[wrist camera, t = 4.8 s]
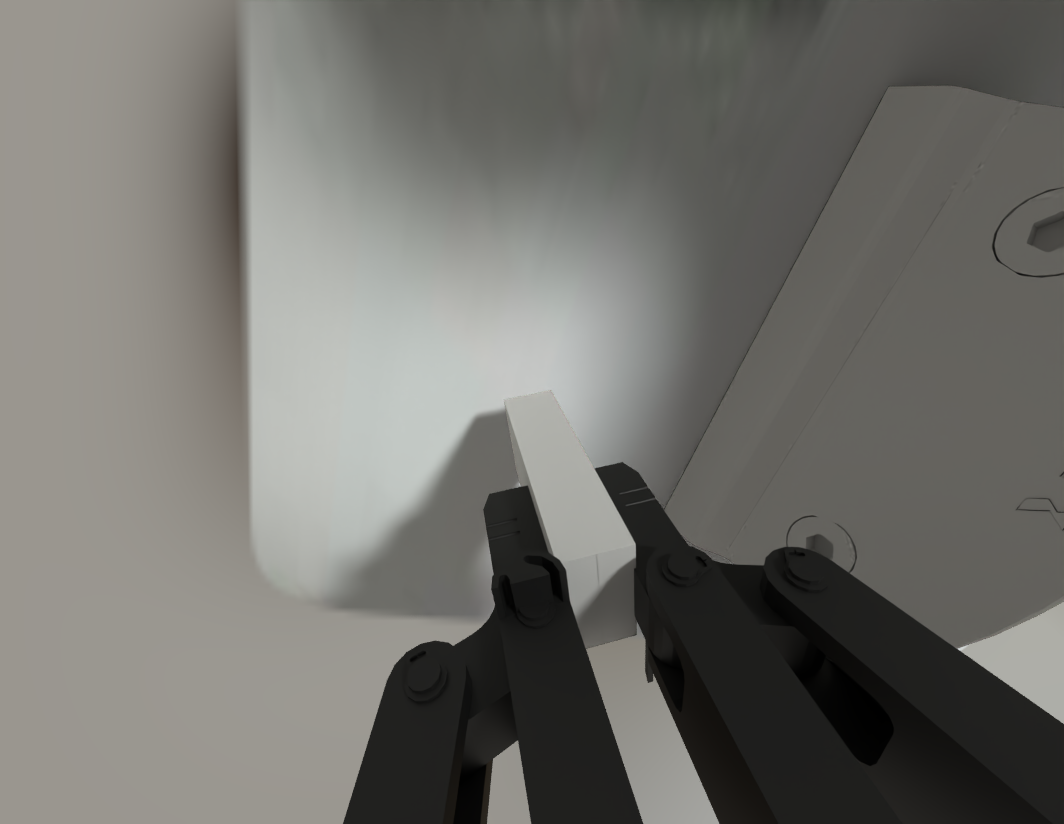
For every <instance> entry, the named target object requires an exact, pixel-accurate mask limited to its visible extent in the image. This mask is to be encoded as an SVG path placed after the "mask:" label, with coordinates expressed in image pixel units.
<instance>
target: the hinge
mask: <svg viewBox="0 0 1064 824" xmlns="http://www.w3.org/2000/svg"><path fill="white" fill-rule="evenodd" d="M664 511H665V512H666V514H667V515H668V517H669V518H670V520H671V521H672V523H673V524H674V526H675V527H676V529H677V530H678V531H679V533H680V534H681V535H682V536H683V537H684V538H685V539H686V540H688V541H689V542H690V543H692V544H693V545H695V546H697V547H700V548H702V549H705V550H708V551H710V552H713V553H715V554H718V555H721V556H723V557H725V558H726V559H728V560H730V561H731V562H732V563H734V564H738V565H764V563H765V558H766V557H767V556H768V555H769V554H770V553H771V552H772V551H773V550H776V549H779V548H782V547H801V548H805V549H808V550H812V551H815V552H817V553H819V554H821V555H823V556H825V557H827V558H828V559H830V560H832V561H833V562H834V563H836V564H837V565H839V566H840V567H842V568H843V569H844V570H846V571H847V572H849V573H850V574H851V575H853V576H854V577H856V578H857V579H859V580H860V581H861V582H863V583H864V584H866V585H867V586H869V587H870V588H871V589H873V590H874V591H876V592H877V593H878V594H880V595H881V596H883V597H884V598H886V599H887V600H888V601H890V602H891V603H893V604H894V605H895V606H897V607H898V608H900V609H901V610H903V611H904V612H905V613H907V614H908V615H910V616H911V617H912V618H914V619H915V620H917V621H918V622H920V623H921V624H922V625H924V626H925V627H927V628H928V629H930V630H931V631H932V632H934V633H935V634H937V635H938V636H939V637H941V638H942V639H944V640H945V641H947V642H948V643H949V644H951V645H952V646H954V647H955V648H956V649H957V648H960V647H963V646H966V645H969V644H972V643H975V642H978V641H980V640H983V639H986V638H989V637H992V636H995V635H997V634H999V633H1001V632H1003V631H1005V630H1008V629H1010V628H1012V627H1014V626H1017V625H1018V624H1021V623H1023V622H1025V621H1027V620H1030V619H1032V618H1034V617H1036V616H1038V615H1040V614H1042V613H1044V612H1046V611H1047V610H1049V609H1051V608H1053V607H1055V606H1057V605H1059V604H1060V603H1062V602H1064V107H1057V106H1050V105H1042V104H1035V103H1028V102H1021V101H1016V100H1011V99H1006V98H1003V97H999V96H995V95H991V94H987V93H983V92H979V91H975V90H971V89H967V88H963V87H956V86H889V87H888V89H887V91H886V93H885V94H884V96H883V98H882V100H881V102H880V104H879V106H878V108H877V110H876V111H875V113H874V115H873V117H872V119H871V121H870V123H869V125H868V127H867V128H866V130H865V132H864V134H863V136H862V138H861V140H860V142H859V143H858V145H857V147H856V149H855V151H854V153H853V155H852V157H851V159H850V160H849V162H848V164H847V166H846V168H845V170H844V172H843V174H842V176H841V177H840V179H839V181H838V183H837V185H836V187H835V189H834V191H833V192H832V194H831V196H830V198H829V200H828V202H827V204H826V206H825V208H824V209H823V211H822V213H821V215H820V217H819V219H818V221H817V223H816V225H815V226H814V228H813V230H812V232H811V234H810V236H809V238H808V240H807V242H806V243H805V245H804V247H803V249H802V251H801V253H800V255H799V257H798V258H797V260H796V262H795V264H794V266H793V268H792V270H791V272H790V274H789V275H788V277H787V279H786V281H785V283H784V285H783V287H782V289H781V291H780V292H779V294H778V296H777V298H776V300H775V302H774V304H773V306H772V308H771V309H770V311H769V313H768V315H767V317H766V319H765V321H764V323H763V324H762V326H761V328H760V330H759V332H758V334H757V336H756V338H755V340H754V341H753V343H752V345H751V347H750V349H749V351H748V353H747V355H746V357H745V358H744V360H743V362H742V364H741V366H740V368H739V370H738V372H737V374H736V375H735V377H734V379H733V381H732V383H731V385H730V387H729V389H728V390H727V392H726V394H725V396H724V398H723V400H722V402H721V404H720V406H719V407H718V409H717V411H716V413H715V415H714V417H713V419H712V421H711V423H710V424H709V426H708V428H707V430H706V432H705V434H704V436H703V438H702V440H701V441H700V443H699V445H698V447H697V449H696V451H695V453H694V455H693V456H692V458H691V460H690V462H689V464H688V466H687V468H686V470H685V472H684V473H683V475H682V477H681V479H680V481H679V483H678V485H677V487H676V489H675V490H674V492H673V494H672V496H671V498H670V500H669V502H668V504H667V506H666V507H665V509H664Z"/></svg>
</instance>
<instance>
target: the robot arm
mask: <svg viewBox="0 0 1064 824" xmlns="http://www.w3.org/2000/svg"><path fill="white" fill-rule="evenodd" d="M504 404H505V409H506V415H507V421H508V426H509V432H510V438H511V443H512V449H513V455H514V460H515V466H516V471H517V474H518V478H519V481H520V485H521V487H518V488H514V489H509V490H505V491H500V492H496V493H492V494H489V496H488V499H487V502H486V504H485V507H484V509H483V510H484V516H485V522H486V529H487V535H488V540H489V547H490V554H491V560H492V566H493V573H494V575H493V577H492V588H491V590H492V594H493V598H494V601H495V608H494V610H493V612H492V614H491V616H490V618H489V619H488V620H487V622H486V623H485V624H484V625H483V626H482V627H481V628H480V629H479V630H477V631H476V632H475V633H473V634H472V635H470V636H469V637H467V638H466V639H464V640H462V641H461V642H459V643H457V644H456V645H455V646H452V645H451V644H449V643H446V642H440V641H432V642H427V643H423V644H420V645H418V646H416V647H415V648H413V649H411V650H410V651H408V652H406V654H405V655H404V656H403V657H402V658H401V659H400V660H399V661H398V662H397V663H396V664H395V666H394V668H393V670H392V672H391V674H390V676H389V678H388V680H387V683H386V686H385V689H384V692H383V696H382V699H381V702H380V705H379V709H378V712H377V715H376V719H375V722H374V725H373V728H372V731H371V735H370V738H369V741H368V744H367V748H366V751H365V754H364V757H363V761H362V764H361V767H360V770H359V774H358V777H357V780H356V783H355V787H354V790H353V793H352V797H351V800H350V803H349V807H348V810H347V813H346V816H345V819H344V822H343V824H487V816H488V805H489V795H490V783H491V773H492V763H493V758H495V757H496V756H497V755H499V754H500V753H501V752H503V751H504V750H505V749H506V748H508V747H509V746H511V745H512V744H513V743H514V742H516V741H517V740H518V742H519V748H520V754H521V761H522V767H523V774H524V780H525V786H526V792H527V799H528V805H529V811H530V817H531V824H643V822H642V819H641V816H640V813H639V810H638V806H637V804H636V801H635V797H634V794H633V792H632V788H631V785H630V783H629V779H628V776H627V773H626V770H625V767H624V764H623V761H622V758H621V755H620V752H619V749H618V746H617V743H616V740H615V736H614V734H613V730H612V728H611V724H610V721H609V718H608V715H607V712H606V709H605V706H604V703H603V700H602V697H601V694H600V691H599V688H598V685H597V682H596V679H595V676H594V672H593V669H592V666H591V663H590V661H589V657H588V654H587V651H586V649H587V648H590V647H594V646H598V645H602V644H605V643H609V642H612V641H616V640H620V639H623V638H627V637H631V636H634V635H637V623H636V620H637V622H638V624H639V626H640V629H641V631H642V633H643V635H644V637H645V640H646V655H645V656H646V657H645V658H646V659H645V672H646V676H647V681H648V683H649V682H652V681H653V674H654V676H655V678H656V680H657V683H658V685H659V687H660V689H661V692H662V694H663V696H664V699H665V701H666V703H667V705H668V708H669V710H670V712H671V714H672V717H673V719H674V721H675V723H676V726H677V728H678V730H679V733H680V735H681V737H682V739H683V742H684V744H685V746H686V749H687V751H688V753H689V755H690V758H691V760H692V762H693V764H694V767H695V769H696V771H697V773H698V776H699V778H700V780H701V782H702V785H703V787H704V789H705V792H706V794H707V796H708V799H709V801H710V803H711V805H712V808H713V810H714V812H715V814H716V817H717V819H718V821H719V824H1064V724H1063V723H1061V722H1060V721H1059V720H1057V719H1055V718H1054V717H1053V716H1052V715H1050V714H1049V713H1047V712H1046V711H1044V710H1043V709H1042V708H1040V707H1039V706H1037V705H1036V704H1034V703H1033V702H1032V701H1030V700H1029V699H1027V698H1026V697H1025V696H1023V695H1022V694H1020V693H1019V692H1017V691H1016V690H1015V689H1013V688H1012V687H1010V686H1009V685H1007V684H1006V683H1005V682H1003V681H1002V680H1000V679H999V678H998V677H996V676H995V675H993V674H992V673H990V672H989V671H987V670H986V669H985V668H983V667H982V666H980V665H979V664H978V663H976V662H975V661H973V660H972V659H971V658H969V657H968V656H966V655H965V654H964V653H962V652H961V651H959V650H958V649H956V648H955V647H954V646H952V645H951V644H949V643H948V642H947V641H945V640H944V639H942V638H941V637H939V636H938V635H937V634H935V633H934V632H932V631H931V630H930V629H928V628H927V627H925V626H924V625H922V624H921V623H920V622H918V621H917V620H915V619H914V618H912V617H911V616H910V615H908V614H907V613H905V612H904V611H903V610H901V609H900V608H898V607H897V606H895V605H894V604H893V603H891V602H890V601H888V600H887V599H886V598H884V597H883V596H881V595H880V594H878V593H877V592H876V591H874V590H873V589H871V588H870V587H869V586H867V585H866V584H864V583H863V582H861V581H860V580H859V579H857V578H856V577H854V576H853V575H851V574H850V573H849V572H847V571H846V570H844V569H843V568H842V567H840V566H839V565H837V564H836V563H834V562H833V561H832V560H830V559H828V558H827V557H825V556H823V555H821V554H819V553H817V552H815V551H812V550H808V549H805V548H801V547H782V548H779V549H776V550H773V551H772V552H771V553H770V554H769V555H768V556H767V557H766V558H765V563H764V565H738V564H726V563H719V562H716V561H713V560H712V559H711V558H710V557H709V556H708V555H707V554H706V553H704V552H702V551H700V550H698V549H696V548H694V547H690V546H689V545H688V544H687V543H686V542H685V540H684V539H683V537H682V536H681V534H680V533H679V531H678V530H677V529H676V527H675V526H674V524H673V523H672V521H671V520H670V518H669V517H668V515H667V514H666V512H665V511H664V510H663V508H662V507H661V505H660V504H659V502H658V501H657V500H656V499H655V496H654V495H653V493H652V492H651V491H650V489H648V487H647V485H646V483H645V482H644V480H643V479H642V477H641V476H640V474H639V473H638V472H637V471H635V470H634V469H632V468H631V467H629V466H627V465H626V464H624V463H623V462H621V463H617V464H613V465H608V466H604V467H600V468H595V469H594V467H593V465H592V463H591V462H590V460H589V458H588V456H587V454H586V452H585V451H584V449H583V447H582V445H581V443H580V442H579V440H578V438H577V436H576V434H575V432H574V431H573V429H572V427H571V425H570V423H569V421H568V420H567V418H566V416H565V414H564V412H563V410H562V409H561V407H560V405H559V403H558V401H557V400H556V398H555V396H554V394H553V392H552V390H548V391H543V392H538V393H534V394H529V395H524V396H519V397H514V398H509V399H504Z"/></svg>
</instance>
